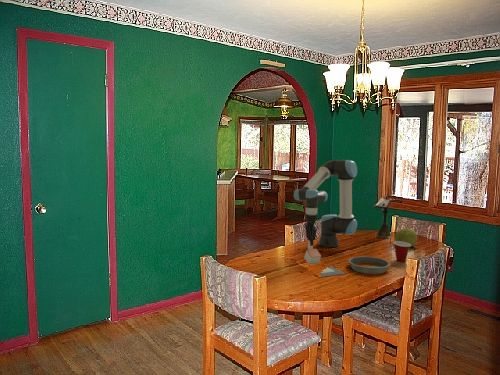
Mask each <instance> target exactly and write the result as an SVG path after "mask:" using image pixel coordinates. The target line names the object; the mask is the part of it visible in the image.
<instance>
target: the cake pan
mask: <svg viewBox="0 0 500 375" xmlns="http://www.w3.org/2000/svg"><path fill="white" fill-rule="evenodd" d="M348 263H349V264H350V268H351V269H352V270H353V271H355V272H358V273H362V274H367V275H368V274H371V275H377V274H383V273H385V272H387V270H388V268H389V266H390V262H389V261H388V260H386V259H384V258H380V257H375V256H354V257H351V258H349V259H348ZM359 264H369V265H370V264H371V265H372V266H362V265H359ZM373 265H375V266H373Z"/></svg>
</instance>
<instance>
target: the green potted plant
mask: <svg viewBox="0 0 500 375" xmlns="http://www.w3.org/2000/svg"><path fill="white" fill-rule="evenodd" d="M395 241H401V242H406V243H409V244H411V246H410V247H409V248H412V247H414V246H415V245H416V244H417V243H418V235H417V233H416V232H415V230H413V229H411V228H409V227H407V228H406V227H405V228H400V229H398V231H396V233H395V235H394V242H395Z"/></svg>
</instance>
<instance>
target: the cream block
mask: <svg viewBox="0 0 500 375" xmlns="http://www.w3.org/2000/svg"><path fill="white" fill-rule="evenodd" d="M321 259H322V255H321V254H320V252H319V250H318V249H317V248H313V249H310V250H308V249H306V251H305V253H304V258H303V260H306V262H307V263H308V264H309V265H310V264H319V261H321Z"/></svg>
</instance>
